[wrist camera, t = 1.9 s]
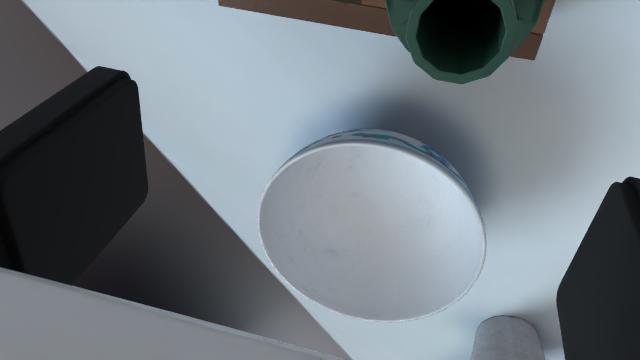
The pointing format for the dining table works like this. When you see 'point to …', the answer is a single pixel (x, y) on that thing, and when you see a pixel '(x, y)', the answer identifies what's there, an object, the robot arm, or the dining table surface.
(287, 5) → the caddy
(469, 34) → the bottle
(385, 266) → the chinaware
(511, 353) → the house plant
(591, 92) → the dining table surface
